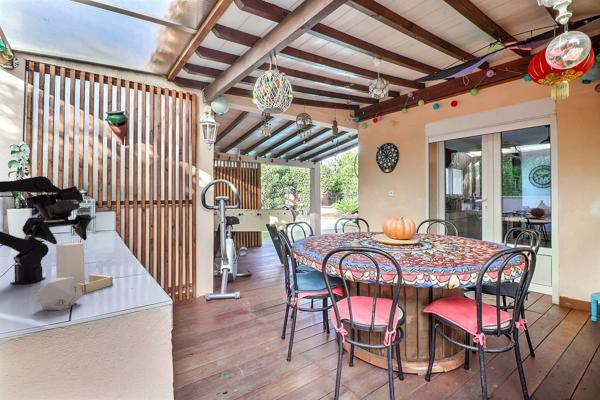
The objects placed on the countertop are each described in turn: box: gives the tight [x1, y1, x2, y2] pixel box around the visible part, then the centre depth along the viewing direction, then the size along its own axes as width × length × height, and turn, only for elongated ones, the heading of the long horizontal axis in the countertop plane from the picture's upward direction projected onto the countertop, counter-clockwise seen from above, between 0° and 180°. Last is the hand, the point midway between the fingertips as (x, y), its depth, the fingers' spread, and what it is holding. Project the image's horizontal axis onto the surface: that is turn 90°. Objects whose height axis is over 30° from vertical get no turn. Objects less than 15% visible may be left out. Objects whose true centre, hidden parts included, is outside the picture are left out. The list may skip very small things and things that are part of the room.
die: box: [34, 277, 84, 311], centre depth 72 cm, size 8×9×10 cm
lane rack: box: [77, 273, 115, 295], centre depth 89 cm, size 16×10×3 cm, turn 70°
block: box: [55, 241, 86, 284], centre depth 90 cm, size 5×5×13 cm
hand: (71, 241), depth 97 cm, fingers open, 9 cm apart
